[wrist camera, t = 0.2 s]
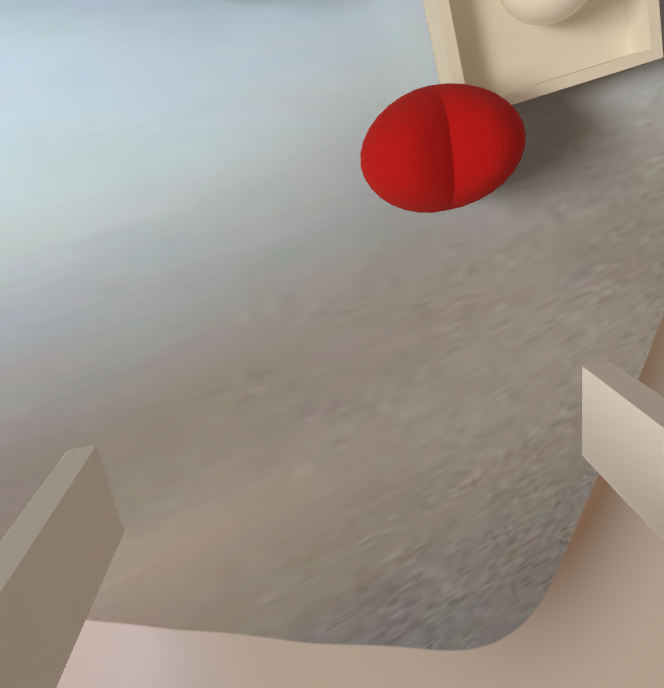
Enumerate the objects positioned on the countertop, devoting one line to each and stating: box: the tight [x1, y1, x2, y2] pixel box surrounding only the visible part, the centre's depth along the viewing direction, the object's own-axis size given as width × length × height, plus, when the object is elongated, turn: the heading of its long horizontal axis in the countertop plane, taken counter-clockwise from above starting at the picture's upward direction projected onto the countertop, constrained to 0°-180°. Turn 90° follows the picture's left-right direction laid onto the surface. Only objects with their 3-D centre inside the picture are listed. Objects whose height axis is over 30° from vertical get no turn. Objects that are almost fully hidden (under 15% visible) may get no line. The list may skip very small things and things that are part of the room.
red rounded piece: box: [361, 83, 526, 213], centre depth 34 cm, size 9×7×10 cm
